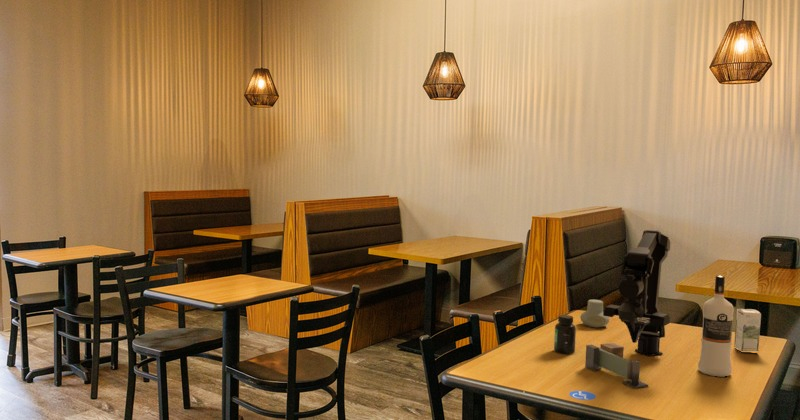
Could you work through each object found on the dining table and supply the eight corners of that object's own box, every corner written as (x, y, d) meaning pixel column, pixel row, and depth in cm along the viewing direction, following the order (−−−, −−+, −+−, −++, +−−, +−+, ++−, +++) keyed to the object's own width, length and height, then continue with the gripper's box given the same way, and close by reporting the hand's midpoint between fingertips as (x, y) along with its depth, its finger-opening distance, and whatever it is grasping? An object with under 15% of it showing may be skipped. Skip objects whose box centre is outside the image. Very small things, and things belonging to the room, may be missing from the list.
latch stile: (591, 366, 195) (592, 344, 195) (599, 370, 192) (600, 347, 192) (585, 367, 195) (586, 345, 194) (592, 370, 191) (593, 348, 191)
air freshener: (581, 327, 245) (582, 302, 244) (578, 322, 253) (580, 298, 252) (610, 329, 243) (611, 304, 242) (607, 324, 251) (608, 299, 251)
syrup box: (750, 349, 220) (753, 308, 219) (758, 354, 214) (761, 312, 213) (733, 348, 220) (736, 307, 219) (741, 353, 214) (743, 311, 214)
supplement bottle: (552, 352, 209) (554, 317, 208) (555, 347, 215) (556, 313, 215) (573, 355, 207) (575, 319, 206) (575, 350, 213) (577, 315, 212)
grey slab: (633, 382, 181) (634, 362, 181) (628, 382, 180) (629, 362, 180) (598, 366, 195) (599, 347, 195) (593, 366, 195) (594, 348, 194)
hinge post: (635, 381, 183) (636, 357, 182) (648, 386, 178) (649, 362, 178) (622, 383, 181) (623, 359, 180) (634, 388, 176) (635, 364, 176)
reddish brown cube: (612, 357, 206) (612, 342, 205) (622, 362, 201) (623, 347, 201) (599, 359, 204) (600, 344, 203) (610, 363, 199) (611, 348, 199)
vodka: (728, 370, 195) (734, 274, 193) (734, 379, 187) (740, 279, 185) (695, 366, 198) (701, 272, 196) (700, 375, 189) (705, 277, 187)
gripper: (596, 291, 193) (594, 341, 194) (657, 301, 180) (655, 355, 182) (611, 286, 201) (609, 334, 202) (671, 296, 189) (669, 346, 190)
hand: (634, 342), depth 194 cm, fingers closed
